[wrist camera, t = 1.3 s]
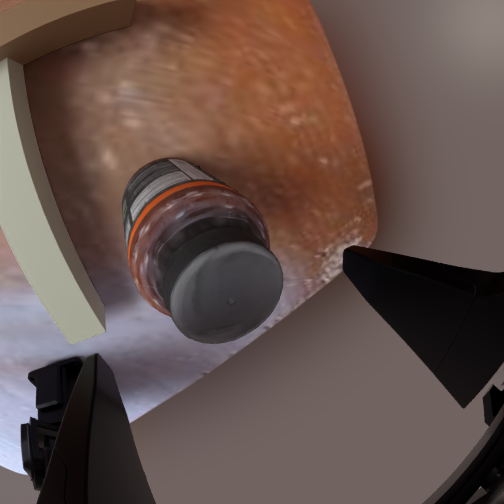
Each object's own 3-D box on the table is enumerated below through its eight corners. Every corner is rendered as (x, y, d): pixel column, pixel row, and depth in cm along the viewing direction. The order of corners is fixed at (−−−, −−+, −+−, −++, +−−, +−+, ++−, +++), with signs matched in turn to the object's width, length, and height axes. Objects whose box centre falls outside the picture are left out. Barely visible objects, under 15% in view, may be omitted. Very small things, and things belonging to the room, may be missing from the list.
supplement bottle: (218, 220, 20) (314, 318, 11) (142, 255, 19) (185, 386, 10) (194, 142, 17) (299, 184, 8) (107, 177, 15) (101, 270, 6)
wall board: (187, 273, 21) (209, 313, 17) (72, 317, 18) (70, 366, 14) (127, 0, 10) (134, -35, 6) (-18, 61, 7) (-53, 50, 3)
